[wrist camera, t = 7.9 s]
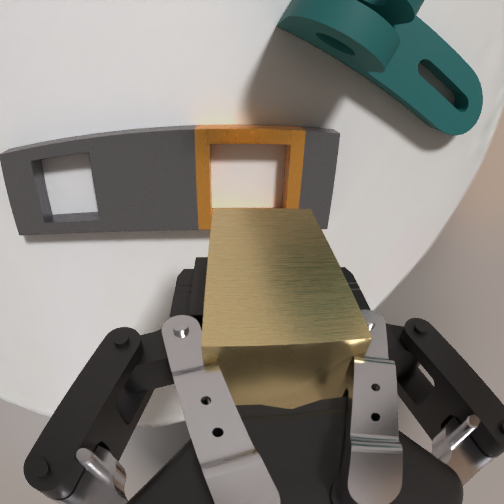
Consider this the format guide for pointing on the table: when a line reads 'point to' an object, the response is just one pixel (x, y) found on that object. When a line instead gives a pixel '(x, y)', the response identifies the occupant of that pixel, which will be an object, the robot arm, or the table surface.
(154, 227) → the rail
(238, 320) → the block
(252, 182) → the table surface
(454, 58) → the bracket
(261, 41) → the table surface
